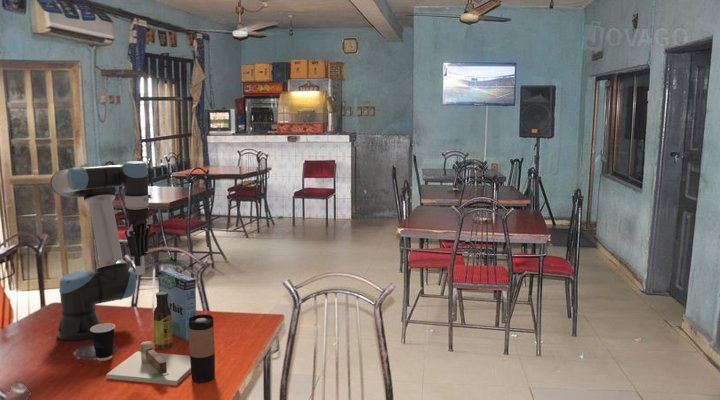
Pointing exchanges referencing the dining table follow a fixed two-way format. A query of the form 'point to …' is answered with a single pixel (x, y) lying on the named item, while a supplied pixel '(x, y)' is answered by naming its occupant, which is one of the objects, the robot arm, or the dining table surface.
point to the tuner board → (152, 370)
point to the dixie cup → (103, 340)
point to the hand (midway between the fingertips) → (140, 274)
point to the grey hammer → (152, 357)
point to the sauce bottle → (162, 322)
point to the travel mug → (202, 348)
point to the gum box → (179, 299)
